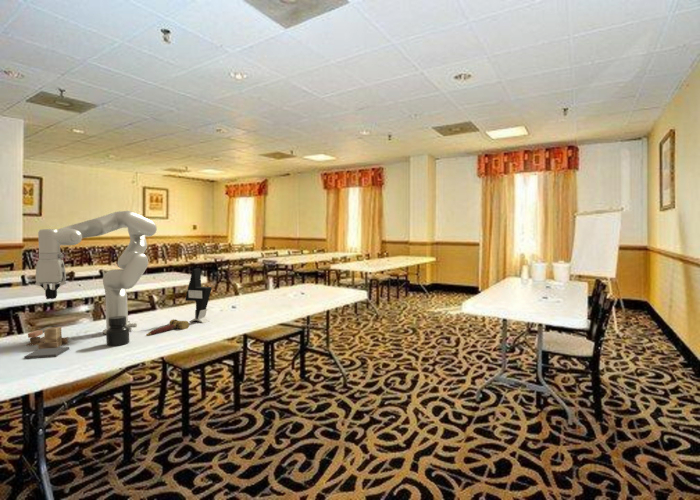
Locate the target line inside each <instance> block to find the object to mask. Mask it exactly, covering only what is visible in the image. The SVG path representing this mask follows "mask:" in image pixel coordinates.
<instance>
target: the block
mask: <svg viewBox="0 0 700 500" xmlns="http://www.w3.org/2000/svg"><path fill="white" fill-rule="evenodd" d="M49 327H50V328H47V329H45V330H44V333H43V335H44V336H45V342H44V343H48V342H58V343H59V347H60V346H62V345H63V344H62V338H63V337H62V326H55V327H53V326H49ZM44 336H43V337H44Z"/></svg>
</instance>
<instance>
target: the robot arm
mask: <svg viewBox="0 0 700 500" xmlns="http://www.w3.org/2000/svg"><path fill="white" fill-rule="evenodd" d="M124 228H125V229H126V228H127V232H128V235H129V239H130V240H129V243H128V245H127V246H126V248H125V249H124V251H123V252H122V254H121V255H120V257H118V260H117V266H118V268H119V269H111V270H108V271H106V273H105V274H104V275H103V277H102V285H103V289H104V293H105V295H104V296H105V321H106V323H105V324H106V328H104V329H103V331H102V334H104V335H106V331H107V329H109V320H108V318H110V317H114V316H126V325H125V326H127V327H128V328H129V332H131V331H132V328H137V326H138V323H136V322H135V323H134V322H132V323H131V321H130V320H129V317H128V316H129V315H128V314H129V312H128V311H129V309H128V292H127V290H130V289H132V288H133V287H135V286H136V285H137V284H138V282H139V281H140V279H141V277H142V276H143V275H144V274H145V271H146V270H147V268H148V265H149V259H148V256H147V255H146V254H145V252H146V250H147V246H148V244H147V239H146V238H147V237H152V236H155V234H156V233H157V225H156V224H155V222H154V221H153V220H151V219H149V218H146V217H144V216H143V215H141V214H138V213H136V212H135V211H130V210H122V211H121V210H119V211H115V212H112V213H111V212H110V213H108V214H106V215H101V216H98V217H95V218H93V219H89V220H85V221H82V222H77V223H74V224H71V225H68V226H64V227H61V228H57V229H54V228H42V229H39V230H38V233H37V236H38V237H37V238H38V240H37V241H38V260H37V262H36V265H35V266H36V267H35V284H34V285H35V286H37V287H41V288H42V289H43V290H44V293H45V298H46V300H54V299H57V297H58V289H60V287H61V286H63V285H66V284H67V282H66V280H67V272H66V267H65V262H64V260H63V259H62V258H64V257H65V254H64V253H61V246H75V245H78V244H79V243H81V242H82V240H83V239H85V238H92V237H93V238H94V237H100V236H103V235H106V234H108V233H111V232H114V231H117V230H120V229H124Z"/></svg>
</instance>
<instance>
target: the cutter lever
mask: <svg viewBox="0 0 700 500" xmlns="http://www.w3.org/2000/svg"><path fill="white" fill-rule="evenodd" d="M50 327H51V326H46V327H43V328H40V329H38V330H34V331H31V332H28V333H27V337H28V339H30V338H32V337H40V336H42V335H44V330H45V329H47V328H50Z"/></svg>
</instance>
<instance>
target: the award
mask: <svg viewBox="0 0 700 500" xmlns="http://www.w3.org/2000/svg"><path fill="white" fill-rule="evenodd" d="M201 272H202V271H201V268H194V269H192V271H191V275H190V279H189V282H188V287H187V290H186V296H185V299H184V300H185V301H186V302H187V301H188V302H190V301H191V302H193V301H194V302H195V310H194V318H193V319H192V320H191V319H190V321H188V322H189V323H191V322H195V321H198V322H199V323H202V324H205V323H209V322H210V320H209V319H208V318H207V317H206V315H207V311H208V309H207V308H208V303H209V300H210V295H211V293H212V287H211V286H202V274H201Z"/></svg>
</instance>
